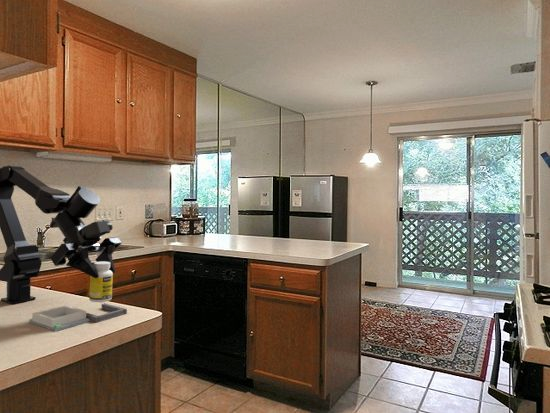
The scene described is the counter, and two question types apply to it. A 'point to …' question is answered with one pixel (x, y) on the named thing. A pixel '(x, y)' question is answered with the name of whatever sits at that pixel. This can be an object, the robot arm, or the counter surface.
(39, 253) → the robot arm
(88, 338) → the counter surface
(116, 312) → the holster cradle
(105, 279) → the supplement bottle
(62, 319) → the panel
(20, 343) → the counter surface
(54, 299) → the counter surface
